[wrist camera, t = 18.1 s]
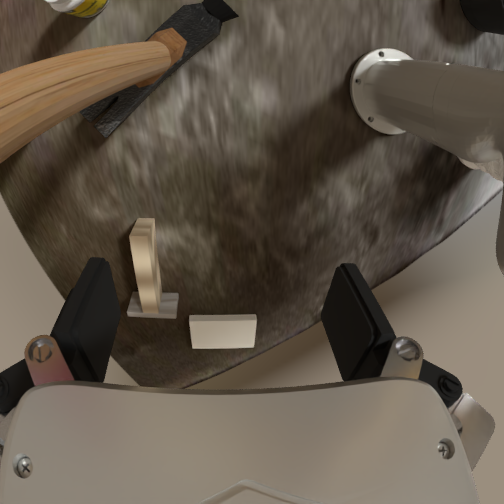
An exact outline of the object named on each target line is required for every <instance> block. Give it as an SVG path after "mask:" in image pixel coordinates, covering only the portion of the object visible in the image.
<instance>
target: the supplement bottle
mask: <svg viewBox="0 0 504 504" xmlns="http://www.w3.org/2000/svg"><path fill="white" fill-rule="evenodd" d="M45 1H46V2H49V3H50V5H51V7H52V8H53V9H54V10H56V11H59V12H63V13H67V14H71V15H74V16H77V17H82V18H88V17H92V16H95V15H97V14H98V13H100V12H101V11H102V10H103V9H104V8H105V7H106V6H107V4H108V2H109V0H45Z"/></svg>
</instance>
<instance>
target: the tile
mask: <svg viewBox="0 0 504 504" xmlns="http://www.w3.org/2000/svg"><path fill="white" fill-rule="evenodd" d="M256 323H257V318H256V314H245V315H189V325H190V333H191V340H192V348H193V349H213V348H250V347H254V341H255V332H256Z"/></svg>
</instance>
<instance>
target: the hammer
mask: <svg viewBox="0 0 504 504" xmlns="http://www.w3.org/2000/svg"><path fill="white" fill-rule="evenodd" d="M236 17H239V16H238V15H237V14H236V13H235V12H234V11H233V10H232V9H231V8H230V7H229V6H228V5H227V4H226V3H225V2H224V1H223V0H204V1H203V2H202V4H201V3H198V4H191V5H184V6H183V7H181V8H180V9H179V10H178V11H177V12H176V13H174V14H173V15H172V16H171V17H170V18H169V19H168V20H167V21H165V22H164V23H163V24H162V25H161V26H160V27H159V28H158V29H157V30H156V31H155V32H154V33H153V34H152V35H151V36H150V37H149V38H148V39H147V40H146V41H145V42H137V43H127V44H119V45H112V46H105V47H99V48H93V49H88V50H83V51H78V52H73V53H68V54H64V55H60V56H56V57H52V58H48V59H45V60H41V61H38V62H34V63H31V64H28V65H25V66H22V67H19V68H16V69H13V70H10V71H7V72H5V73H2V74H0V163H2V162H3V161H4V160H6V159H7V158H8V157H9V156H11V155H12V154H13V153H15V152H16V151H18V150H19V149H20V148H22V147H23V146H25V145H26V144H27V143H29V142H30V141H32V140H33V139H35V138H36V137H38V136H39V135H41V134H42V133H44V132H45V131H47V130H48V129H50V128H52V127H53V126H55V125H56V124H58V123H60V122H61V121H63V120H65V119H67V118H68V117H70V116H72V115H73V114H75V113H77V112H79V111H80V113H81V114H82V115H83V116H84V117H85V118H86V119H87V120H88V121H89V122H91V121H93V120H94V119H95V118H96V117H98V116H99V115H100V114H101V113H102V112H104V111H105V110H106V109H107V108H108V107H109V106H110V105H111V104H113V103H114V102H115V101H116V100H117V99H118V100H117V102H116V103H115V104H114V105H113V107H112V108H111V109H110V110H109V111H108V112H107V113H106V114H105V115H104V116H103V117H102V118H101V119H100V120H99V121H98V122H97V123H96V124H95V125H94V127H95V128H96V129H97V130H98V131H99V132H100V133H101V134H102V135H103V136H104V137H105V138H107V137H108V136H109V135H110V134H111V133H112V132H113V131H114V130H115V129H116V128H117V127H118V126H119V125H120V124H121V123H122V122H123V121H124V120H125V119H126V118H127V117H128V116H129V115H130V114H131V113H132V112H133V111H134V110H135V109H136V108H137V107H138V106H139V105H140V104H141V103H142V102H143V101H144V100H145V99H146V98H147V96H148V95H149V94H150V93H151V92H152V91H153V90H154V89H155V88H157V87H158V86H159V85H160V84H161V83H162V82H163V81H164V80H165V79H166V78H167V77H168V76H170V75H171V74H172V73H173V72H174V71H175V70H176V69H178V68H179V67H180V66H181V65H182V64H183V63H185V62H186V61H187V60H188V59H189V58H190V57H192V56H193V55H194V54H195V53H196V52H198V51H199V50H200V49H201V48H203V47H204V46H205V45H206V44H208V43H209V42H210V41H211V40H213V39H214V38H215V37H217V36H218V35H219V33H220V29H221V26H222V22H225V21H228V20H230V19H233V18H236Z"/></svg>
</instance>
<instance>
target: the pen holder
mask: <svg viewBox="0 0 504 504" xmlns="http://www.w3.org/2000/svg"><path fill="white" fill-rule="evenodd" d="M460 2H461V6H462V9H463V12H464V14H465V16H466V17H467V19H468V20H469V22H470V23H471V24H472V25H473V26H474V27H475V28H477V29H478V30H480V31H483V32H490V33H496V34H502V35H504V0H460Z"/></svg>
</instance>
